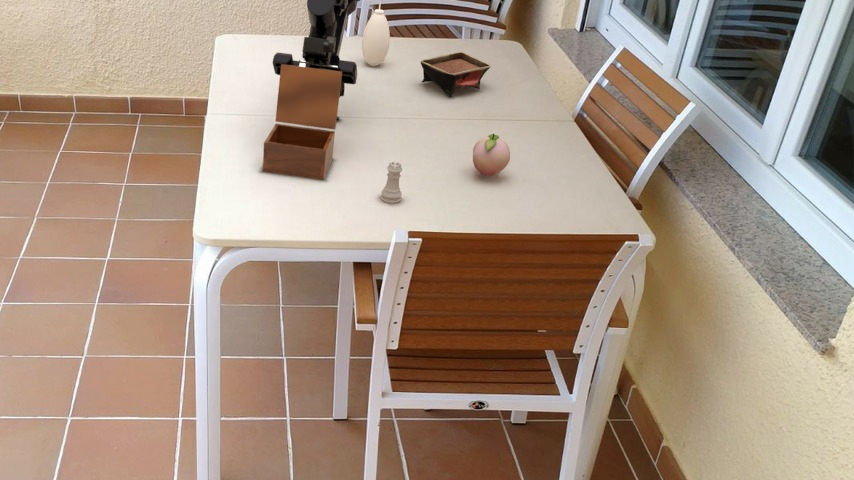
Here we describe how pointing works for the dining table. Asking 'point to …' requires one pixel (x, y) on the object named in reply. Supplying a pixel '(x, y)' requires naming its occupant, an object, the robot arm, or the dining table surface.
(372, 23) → the cream tall oval piece
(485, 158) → the decorative fruit
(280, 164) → the bin
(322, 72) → the bin lid
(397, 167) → the rook chess piece
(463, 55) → the square footed planter
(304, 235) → the dining table surface
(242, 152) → the dining table surface
